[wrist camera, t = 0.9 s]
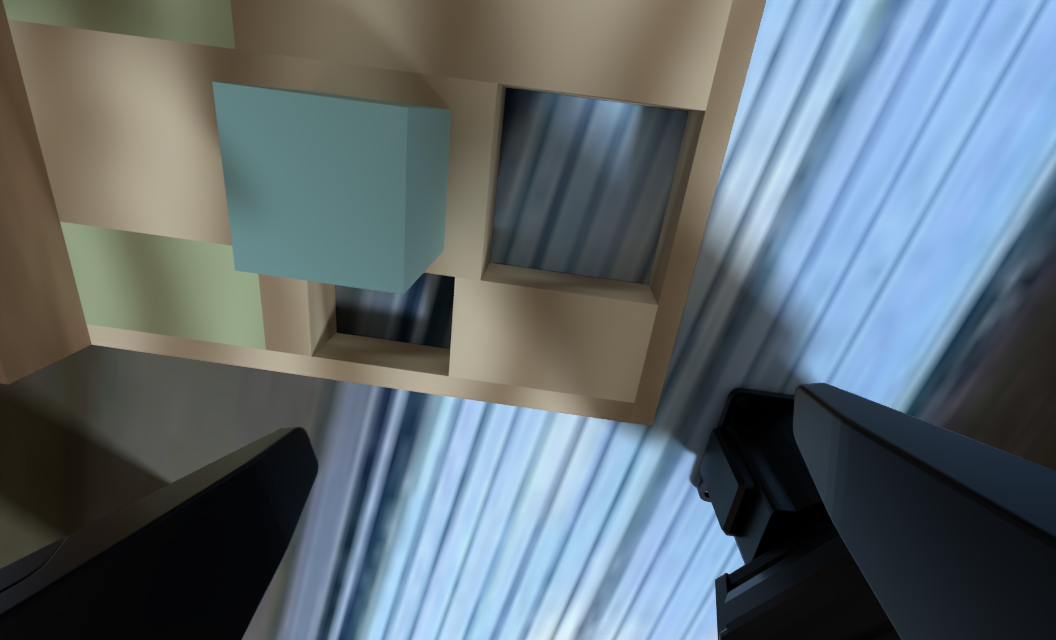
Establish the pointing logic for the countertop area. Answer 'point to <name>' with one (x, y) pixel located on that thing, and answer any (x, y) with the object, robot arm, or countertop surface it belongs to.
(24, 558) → the robot arm
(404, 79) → the trap board
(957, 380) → the countertop surface
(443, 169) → the block
